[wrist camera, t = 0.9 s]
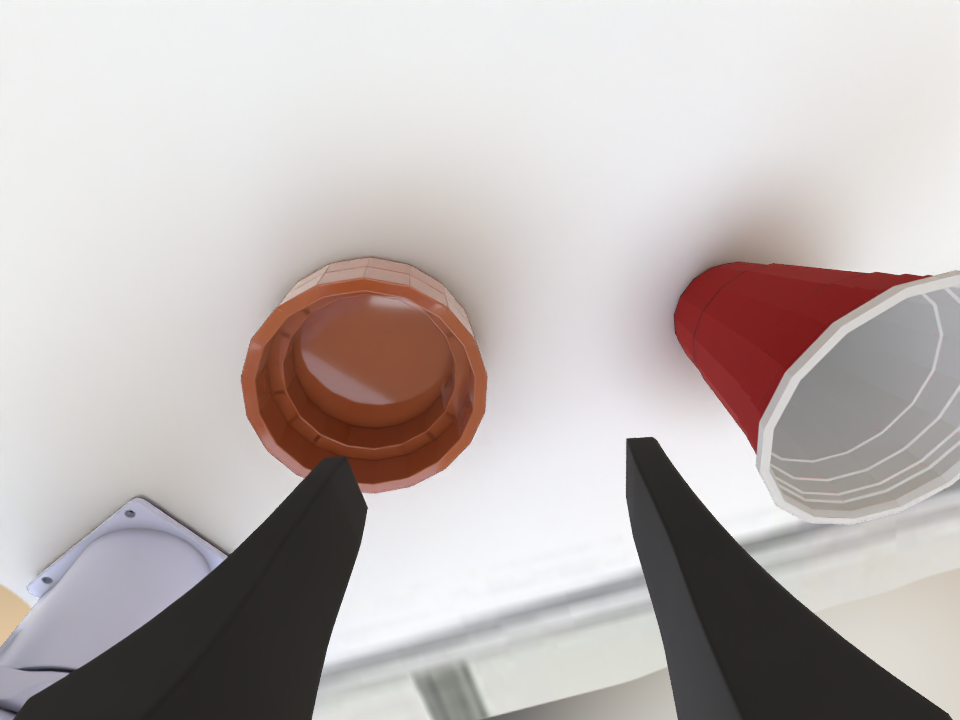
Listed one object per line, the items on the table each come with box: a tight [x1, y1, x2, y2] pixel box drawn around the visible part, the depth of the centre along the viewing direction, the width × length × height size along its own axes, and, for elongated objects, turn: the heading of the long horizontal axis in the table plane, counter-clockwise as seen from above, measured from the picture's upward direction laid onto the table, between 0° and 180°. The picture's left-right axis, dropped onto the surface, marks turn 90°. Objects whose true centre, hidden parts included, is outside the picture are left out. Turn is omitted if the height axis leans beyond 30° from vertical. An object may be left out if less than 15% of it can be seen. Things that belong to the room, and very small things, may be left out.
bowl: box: [241, 257, 487, 493], centre depth 24 cm, size 11×11×5 cm
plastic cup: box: [674, 262, 960, 525], centre depth 23 cm, size 11×11×12 cm
